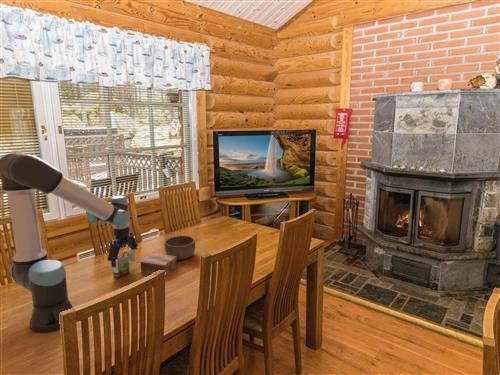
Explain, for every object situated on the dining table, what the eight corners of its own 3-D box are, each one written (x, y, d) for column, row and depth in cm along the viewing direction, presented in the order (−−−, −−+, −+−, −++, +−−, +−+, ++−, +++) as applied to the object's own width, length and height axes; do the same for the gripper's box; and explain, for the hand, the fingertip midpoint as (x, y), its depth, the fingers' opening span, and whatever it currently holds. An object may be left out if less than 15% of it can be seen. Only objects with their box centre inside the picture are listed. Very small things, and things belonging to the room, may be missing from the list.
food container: (123, 280, 164) (121, 261, 163) (112, 279, 166) (110, 260, 164) (136, 269, 176) (135, 251, 174) (125, 268, 178) (124, 250, 176)
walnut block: (165, 276, 169) (164, 265, 167) (141, 272, 173) (140, 261, 172) (176, 266, 180) (176, 256, 179) (154, 263, 184) (153, 253, 183)
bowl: (174, 265, 181) (173, 248, 179) (159, 255, 195) (159, 239, 193) (201, 257, 192) (201, 241, 190) (186, 248, 206) (185, 233, 204)
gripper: (110, 235, 153) (114, 278, 158) (142, 220, 177) (145, 257, 181) (96, 234, 156) (101, 276, 160) (130, 219, 179) (133, 256, 183)
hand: (124, 266), depth 170 cm, fingers open, 13 cm apart
